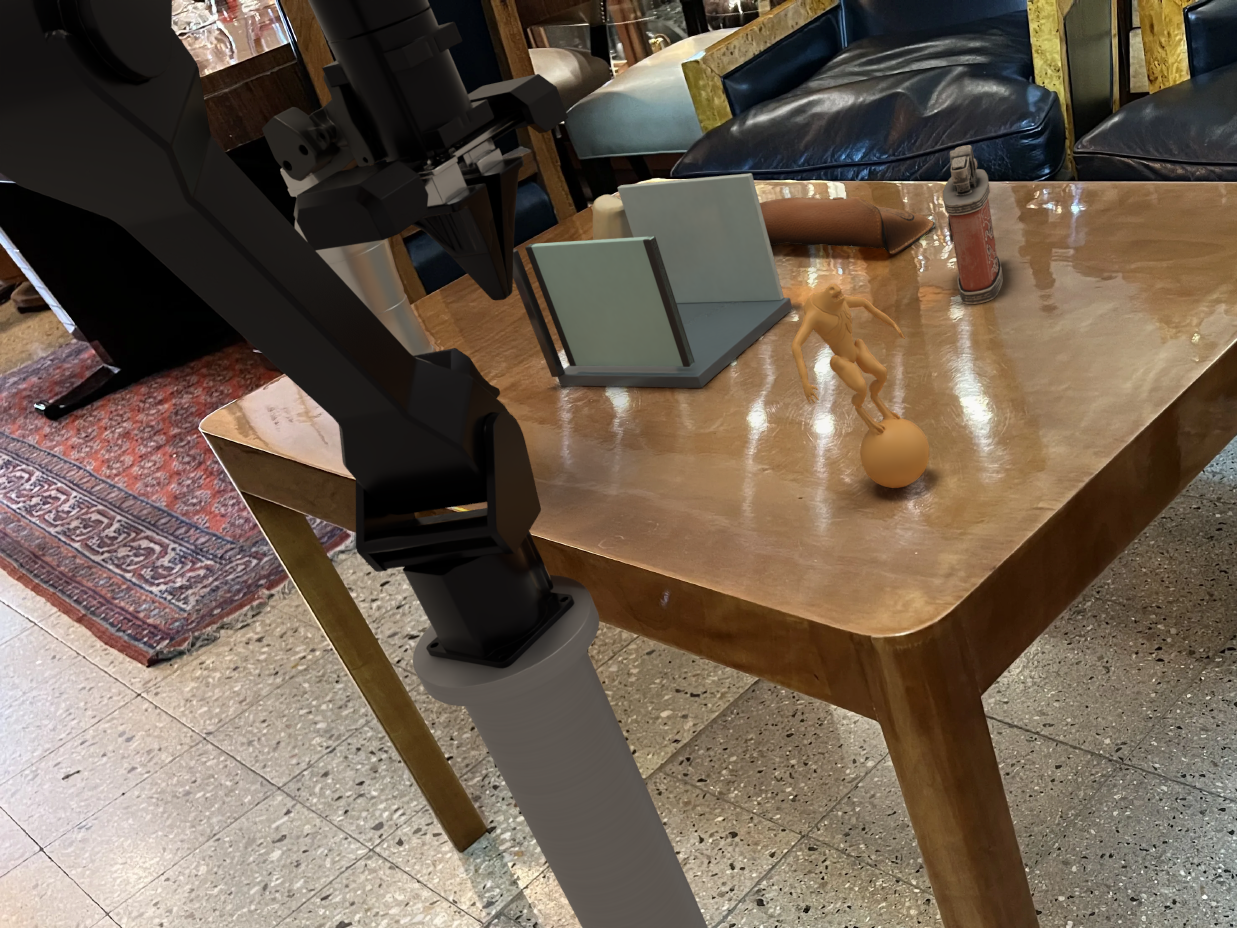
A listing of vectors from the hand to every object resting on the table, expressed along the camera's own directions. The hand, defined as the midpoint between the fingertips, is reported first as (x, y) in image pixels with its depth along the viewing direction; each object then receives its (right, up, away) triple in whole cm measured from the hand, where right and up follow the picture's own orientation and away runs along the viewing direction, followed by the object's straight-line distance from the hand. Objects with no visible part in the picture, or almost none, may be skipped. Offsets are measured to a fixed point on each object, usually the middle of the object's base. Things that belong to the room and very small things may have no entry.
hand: (502, 297), depth 72 cm
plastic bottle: (-13, -3, +24) cm, 28 cm away
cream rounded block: (+1, +12, +39) cm, 40 cm away
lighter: (+32, +6, +20) cm, 38 cm away
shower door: (+5, 0, +18) cm, 19 cm away
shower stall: (+7, +3, +23) cm, 24 cm away
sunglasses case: (+20, +15, +36) cm, 44 cm away
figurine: (+23, -12, -2) cm, 26 cm away
